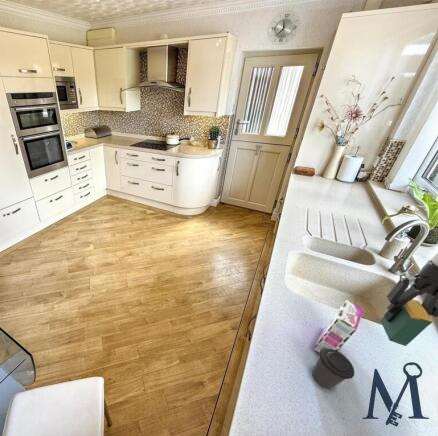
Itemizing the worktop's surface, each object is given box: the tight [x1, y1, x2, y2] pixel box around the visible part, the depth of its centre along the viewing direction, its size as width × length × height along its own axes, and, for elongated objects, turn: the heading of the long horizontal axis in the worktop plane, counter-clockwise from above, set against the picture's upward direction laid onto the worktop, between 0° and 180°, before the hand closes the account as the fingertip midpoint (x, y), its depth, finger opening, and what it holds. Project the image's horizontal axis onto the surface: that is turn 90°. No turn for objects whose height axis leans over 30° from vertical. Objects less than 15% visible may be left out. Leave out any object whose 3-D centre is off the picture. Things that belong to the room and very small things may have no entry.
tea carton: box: [380, 298, 434, 347], centre depth 72 cm, size 12×4×8 cm
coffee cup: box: [311, 348, 355, 390], centre depth 66 cm, size 8×8×10 cm
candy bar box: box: [312, 299, 365, 355], centre depth 74 cm, size 11×5×16 cm, turn 131°
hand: (396, 321), depth 75 cm, fingers closed on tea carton, 4 cm apart
